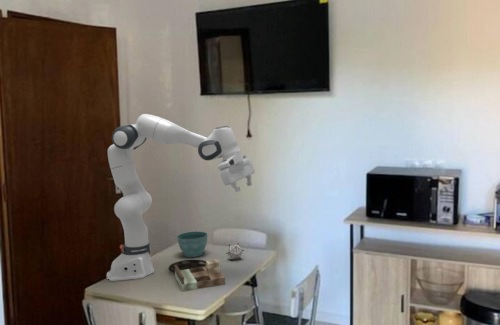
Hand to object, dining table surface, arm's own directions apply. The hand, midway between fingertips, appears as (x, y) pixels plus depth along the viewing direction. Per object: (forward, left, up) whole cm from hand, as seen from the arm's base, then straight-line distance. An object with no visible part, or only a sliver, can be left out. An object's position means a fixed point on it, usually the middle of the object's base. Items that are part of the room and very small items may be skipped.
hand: (244, 188), depth 228 cm
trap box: (-23, +3, -40) cm, 46 cm away
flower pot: (-17, +43, -41) cm, 62 cm away
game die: (+1, +25, -41) cm, 48 cm away
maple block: (-16, +3, -37) cm, 41 cm away
